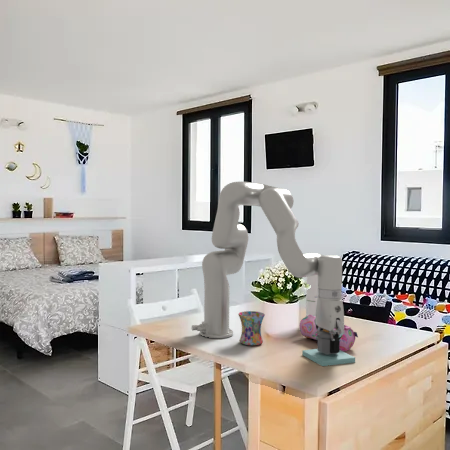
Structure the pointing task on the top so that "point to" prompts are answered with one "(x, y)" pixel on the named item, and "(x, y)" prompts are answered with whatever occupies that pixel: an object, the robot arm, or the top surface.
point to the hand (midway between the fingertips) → (328, 349)
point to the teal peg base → (328, 357)
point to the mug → (251, 327)
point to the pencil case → (347, 338)
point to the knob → (324, 341)
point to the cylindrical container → (312, 295)
